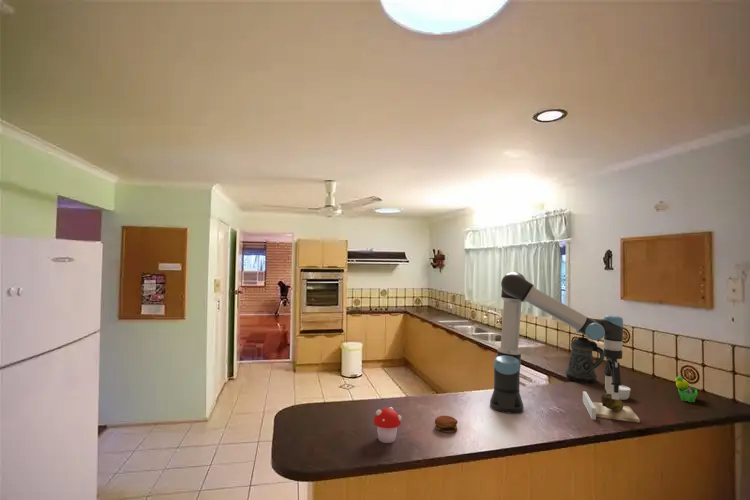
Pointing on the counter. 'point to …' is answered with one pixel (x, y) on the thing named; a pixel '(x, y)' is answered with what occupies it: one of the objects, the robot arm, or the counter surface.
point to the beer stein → (583, 361)
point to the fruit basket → (685, 390)
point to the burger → (446, 424)
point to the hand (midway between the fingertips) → (611, 394)
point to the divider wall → (589, 405)
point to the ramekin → (622, 392)
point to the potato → (611, 402)
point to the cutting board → (616, 413)
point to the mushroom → (387, 424)
